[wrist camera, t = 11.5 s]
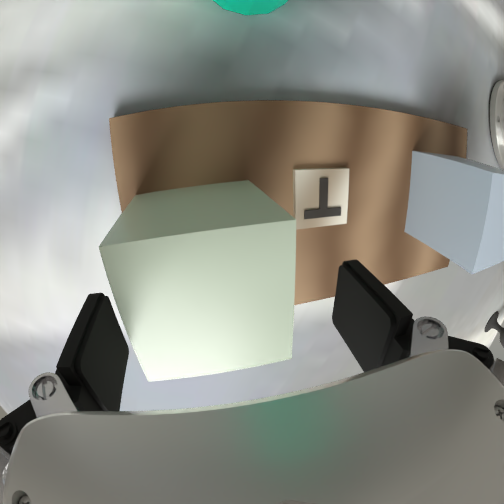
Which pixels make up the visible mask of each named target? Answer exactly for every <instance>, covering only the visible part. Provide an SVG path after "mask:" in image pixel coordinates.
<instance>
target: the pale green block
mask: <svg viewBox="0 0 504 504" xmlns="http://www.w3.org/2000/svg"><path fill="white" fill-rule="evenodd" d="M99 250H100V253H101V257H102V260H103V264H104V267H105V271H106V274H107V277H108V280H109V284H110V287H111V290H112V293H113V296H114V299H115V302H116V304H117V307H118V310H119V313H120V316H121V318H122V321H123V324H124V326H125V329H126V331H127V334H128V336H129V339H130V341H131V344H132V346H133V348H134V351H135V353H136V355H137V358H138V360H139V362H140V364H141V367H142V369H143V371H144V373H145V375H146V377H147V380H148V381H160V380H170V379H179V378H188V377H195V376H203V375H210V374H216V373H222V372H229V371H234V370H240V369H245V368H251V367H256V366H261V365H265V364H270V363H275V362H279V361H284V360H288V359H291V356H292V340H293V320H294V297H295V266H296V219H295V218H294V217H293V216H291V215H290V214H289V213H288V212H287V211H285V210H284V209H283V208H282V207H281V206H279V205H278V204H277V203H276V202H275V201H274V200H272V199H271V198H270V197H269V196H267V195H266V194H265V193H264V192H263V191H261V190H260V189H259V188H258V187H256V186H255V185H254V184H253V183H252V182H250V181H249V180H246V181H235V182H226V183H217V184H208V185H200V186H192V187H184V188H177V189H170V190H164V191H157V192H151V193H145V194H139V195H135V197H134V198H133V199H132V201H131V202H130V203H129V205H128V206H127V207H126V209H125V210H124V211H123V213H122V214H121V215H120V217H119V218H118V220H117V221H116V222H115V224H114V225H113V227H112V228H111V230H110V231H109V232H108V234H107V235H106V237H105V238H104V240H103V241H102V243H101V244H100V246H99Z"/></svg>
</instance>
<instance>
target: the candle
mask: <svg viewBox="0 0 504 504" xmlns="http://www.w3.org/2000/svg"><path fill="white" fill-rule="evenodd" d="M213 1H214V2H216V3H217V4H218V5H219V6H221V7H222V8H223V9H225V10H229V11H233V12H236V13H240V14H243V15H255V14H269V13H270V12H272V11H274V10H275V9H277V8H279V7H281V6H282V5H284V4H285V3H286V2H287V1H288V0H213Z"/></svg>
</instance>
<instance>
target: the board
mask: <svg viewBox="0 0 504 504" xmlns="http://www.w3.org/2000/svg"><path fill="white" fill-rule="evenodd" d="M109 122H110V134H111V143H112V152H113V160H114V168H115V175H116V181H117V188H118V194H119V199H120V205H121V210H122V213H123V211H124V210H125V209H126V207H127V206H128V205H129V203H130V202H131V201H132V199H133V198H134V197H135V195H139V194H145V193H151V192H157V191H164V190H170V189H177V188H184V187H192V186H200V185H208V184H217V183H226V182H235V181H246V180H249V181H250V182H252V183H253V184H254V185H255V186H256V187H258V188H259V189H260V190H261V191H263V192H264V193H265V194H266V195H267V196H269V197H270V198H271V199H272V200H274V201H275V202H276V203H277V204H278V205H279V206H281V207H282V208H283V209H284V210H285V211H287V212H288V213H289V214H290V215H291V216H293V217H294V218H295V219H296V266H295V297H294V305H297V304H302V303H307V302H311V301H316V300H321V299H325V298H330V297H334V296H335V294H336V286H337V278H338V269H339V266H340V265H342V263H343V262H344V261H348V260H355V259H357V260H358V261H359V262H360V263H361V264H363V265H364V266H365V267H366V268H367V269H368V270H369V271H370V272H371V273H372V274H373V275H374V276H375V277H376V278H377V279H378V280H379V281H380V282H381V283H382V284H383V285H384V284H388V283H391V282H395V281H399V280H403V279H406V278H410V277H413V276H417V275H421V274H424V273H427V272H431V271H434V270H438V269H441V268H444V267H448V265H449V261H450V259H448V258H446V257H445V256H443V255H442V254H440V253H439V252H437V251H436V250H434V249H432V248H431V247H429V246H428V245H426V244H424V243H423V242H421V241H419V240H418V239H416V238H414V237H413V236H411V235H409V234H408V233H406V232H404V231H405V224H406V217H407V209H408V200H409V191H410V179H411V165H412V151H419V152H428V153H436V154H444V155H451V156H457V157H461V158H465V159H466V151H467V129H466V128H463V127H459V126H456V125H452V124H449V123H445V122H441V121H437V120H433V119H429V118H425V117H421V116H416V115H411V114H406V113H401V112H396V111H390V110H384V109H378V108H371V107H364V106H356V105H347V104H337V103H326V102H311V101H283V100H257V101H230V102H215V103H203V104H193V105H184V106H176V107H168V108H162V109H155V110H149V111H143V112H138V113H133V114H128V115H123V116H118V117H114V118H109Z"/></svg>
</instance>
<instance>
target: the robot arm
mask: <svg viewBox="0 0 504 504" xmlns="http://www.w3.org/2000/svg"><path fill="white" fill-rule="evenodd" d="M490 130H491V138H492V144H493V149H494V152H495V156H496V158H497V161H498V163H499V165H500V167H501V168H502V169H503V170H504V80H500V81H498V82H497V83H496V84H495V86H494V88H493V91H492V94H491V100H490ZM412 316H413V314H412V313H411V312H410V311H409V310H408V309H407V307H406V306H405V305H404V304H403V303H402V302H401V301H400V300H399V299H398V298H397V297H396V296H395V295H394V294H393V293H392V292H391V291H390V290H389V289H388V288H387V287H385V286H384V285H383V284H382V283H381V282H380V281H379V280H378V279H377V278H376V277H375V276H374V275H373V274H372V273H371V272H370V271H369V270H368V269H367V268H366V267H365V266H364V265H363V264H361V263H360V262H359V261H358V260H357V259H355V260H348V261H344V262H343V263H342V265H340V266H339V269H338V278H337V286H336V294H335V301H334V308H333V315H332V320H333V324H334V325H335V327H336V329H337V330H338V332H339V333H340V335H341V336H342V338H343V339H344V341H345V343H346V344H347V346H348V347H349V349H350V350H351V352H352V354H353V355H354V357H355V358H356V360H357V361H358V363H359V365H360V366H361V368H362V369H363V371H364V373H361V374H358V375H355V376H351V377H348V378H345V379H341V380H338V381H334V382H331V383H327V384H324V385H320V386H316V387H312V388H308V389H304V390H300V391H295V392H291V393H286V394H282V395H277V396H272V397H267V398H261V399H256V400H250V401H244V402H238V403H231V404H224V405H216V406H207V407H198V408H187V409H174V410H157V411H119V410H120V402H121V396H122V389H123V383H124V377H125V371H126V366H127V360H128V355H129V349H128V345H127V343H126V341H125V338H124V336H123V333H122V331H121V328H120V326H119V324H118V321H117V318H116V316H115V313H114V311H113V308H112V305H111V302H110V300H109V298H108V296H105V295H104V294H103V293H95V294H89V295H88V297H87V299H86V301H85V303H84V305H83V307H82V309H81V311H80V313H79V315H78V317H77V319H76V322H75V324H74V326H73V328H72V330H71V333H70V335H69V337H68V339H67V342H66V344H65V346H64V349H63V351H62V354H61V356H60V358H59V361H58V363H57V366H56V367H57V370H56V372H55V374H54V373H50V372H47V373H43V374H41V375H39V376H37V377H36V378H35V379H34V380H33V381H32V382H31V384H30V387H29V391H28V392H29V397H30V400H28V401H27V402H26V403H24V404H23V405H21V406H20V407H18V408H17V409H15V410H14V411H12V412H11V413H9V414H8V415H7V416H5V417H4V418H2V419H1V420H0V504H504V361H502V360H500V359H498V358H496V360H494V358H493V354H492V353H491V351H490V350H489V349H488V348H487V347H486V346H484V345H482V344H479V343H475V342H471V341H467V340H463V339H459V338H455V337H451V336H448V332H447V328H446V327H445V325H444V324H443V323H442V322H441V321H439V320H437V319H436V318H432V317H426V316H425V317H420V318H418V319H416V320H415V321H414V320H413V319H412Z"/></svg>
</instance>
